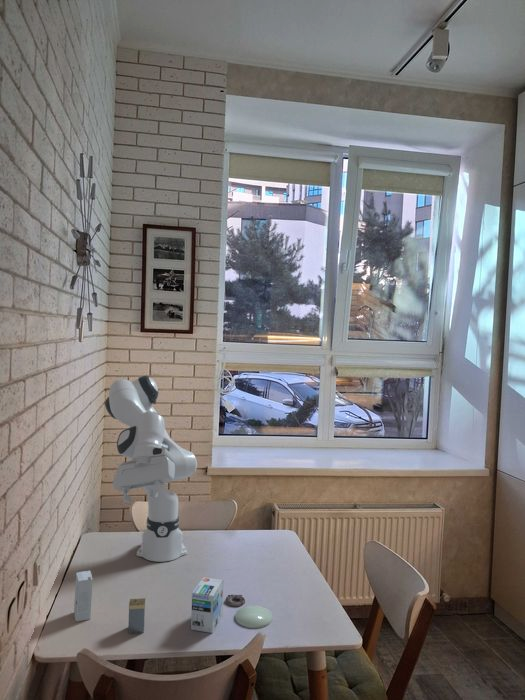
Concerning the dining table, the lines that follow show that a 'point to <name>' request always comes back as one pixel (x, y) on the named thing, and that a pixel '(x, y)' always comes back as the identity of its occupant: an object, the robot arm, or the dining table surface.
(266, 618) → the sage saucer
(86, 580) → the skincare box
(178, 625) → the dining table surface
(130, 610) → the tea tin
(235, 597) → the donut
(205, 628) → the light bulb box
